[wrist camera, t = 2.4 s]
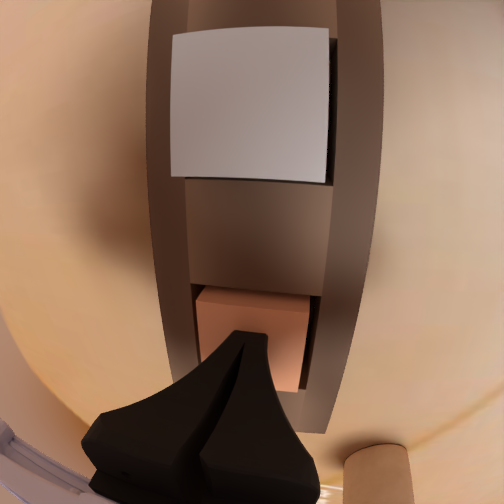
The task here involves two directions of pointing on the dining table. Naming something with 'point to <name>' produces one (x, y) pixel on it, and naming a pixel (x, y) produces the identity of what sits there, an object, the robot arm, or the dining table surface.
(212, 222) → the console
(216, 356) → the robot arm
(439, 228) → the dining table surface
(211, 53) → the light gray cube
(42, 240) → the dining table surface
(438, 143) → the dining table surface
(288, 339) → the orange cube
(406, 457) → the candle
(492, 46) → the dining table surface
